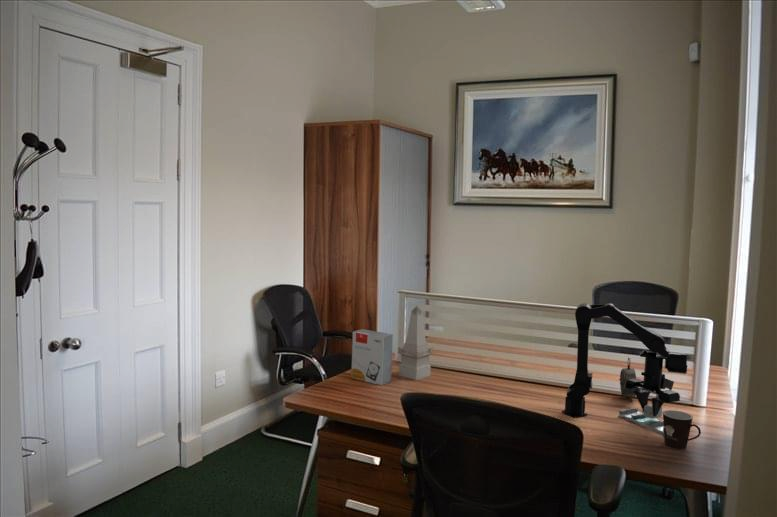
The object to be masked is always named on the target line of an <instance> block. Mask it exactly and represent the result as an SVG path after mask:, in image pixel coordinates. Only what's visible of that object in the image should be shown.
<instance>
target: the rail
mask: <svg viewBox="0 0 777 517" xmlns="http://www.w3.org/2000/svg"><path fill="white" fill-rule="evenodd" d="M638 409H639V408H637V407H631V408H625V409H620V410H619V411H618V417H619V418H623V419H624V418H625V419H624V420H627V421H630V422H632V423H634V424H637V425H640V426H642V427H643V428H646V429H648V430H651V431H653V432H655V433H658V434H661V435H662V436H664V423H663V419H662V420H660V419H658V418H654V419H651V418H648V417H645V416H644V413H643V412H641V411H639V410H638Z"/></svg>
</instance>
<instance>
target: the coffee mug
mask: <svg viewBox="0 0 777 517" xmlns="http://www.w3.org/2000/svg"><path fill="white" fill-rule="evenodd" d="M662 417H663V418H662V420H663V423H664V435H663V437H664V442H663V443H664V445H665V446H666V447H667V448H670V449H673V450H685V449H687V446H688V443H689V441H692V440H696V439H698V438H699V437H700V436H701V434H702V432H701V428H700V427H699V426H698V425H697V424H694V423H693V418H694V416H693V415H692V414H690V413H688V412H685V411H681V410H674V409H668V410H664V411H662ZM692 427H695V428H696V429H697V431H698V434H697V435H696V436H695V437H690V432H691V428H692Z"/></svg>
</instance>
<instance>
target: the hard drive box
mask: <svg viewBox="0 0 777 517" xmlns="http://www.w3.org/2000/svg"><path fill="white" fill-rule="evenodd" d="M351 334H352V337H351V338H352V339H351V340H352V341H351V366H350V367H351V371H350V372H351V374H350V378H351V379H354V380H357V381H361V382H366V383H370V384H373V385H379V386H384V385H385V384H388V383H390V382H392V367H393V366H392V363H393V361H392V360H393V336H394V335H393V334H391V333H387V332H382V331H376V330H369V329H364V328H361V329H358V330H354V331H352V333H351Z"/></svg>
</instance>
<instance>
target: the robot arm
mask: <svg viewBox="0 0 777 517" xmlns="http://www.w3.org/2000/svg"><path fill="white" fill-rule="evenodd" d="M574 316H575V322H576V328H577V351H576V353H577V354H576V355H577V358H576V371H575V377H574V381H573V383H572V384H571V385H569V386H568V387H567V390H566V396H565V400H564V401H565V403H564V409H563V410H561V413H563V414H566V415H567V416H569V417H571V418H579V417H584V416H587V415H588V413H587V412H585V410H586V397H585V396H587V395H588V394H589V393H590V391H591V390H592V389H593V381H592V379H593V374H594V373H593V372H589V368H588V367H589V339H590V338H589V336H590V335H589V334H590V326H591V323H592V319H593V320H594V319H599V318H604V317H605V318H606V317H609V318H611V319H612V320H613V321H615V322H616V323H617V324H619V325H620V326H621V327H622V328H624V329H626V330H627V331H628V332H630V333H631V334H633V335H634V336H635V337H637V339H639V341H640V342H641V343H642V344H643V345H644V346H645V347H646V348H647V349H648V350H649V351H648V350H647V349H646V348H644V349H643V350H642V351H640V352H639V357H641V358H644V371H641V374H640V375H641V376H643V379H641V378H640V379H639V378H637V377H636V378H635V379H628V380H627V381H626V383H625V387H626V388H628V389H633V388H634V387H635V391H633V393H635V397H636V398H637V400H638V403H639V405H640V407H641V410H642V411H644V406H645V405H649V404H648V403H649V396H650V395H651V394H653V395H655V397H652V398H651V404H652V409H653V416H654V417H656V416H657V414H658V412H659V410H660V408H661V406H662V407H663V405H664V403H668V404H669V403H670V404H671V403H674V402H676V403H677V402H681V401H680V400H681V395H680V394H679V392H678V391H675V390H673V387H674V383H675V381H674V380H671V379H668V378H666V375H665V373H663V365H664V370H665V369H666V370H667V372H668V373H675V374H683V375H686V374H687V372H688V361H687V360H688V359H687V358H688V357H687V356H688V355H687V353H683V352H681V353H679V352H670V351H669V348H667V347H666V342H665V339H664V337H663V336H662V334H660V333H658V332H656V331H654V330H652V329H649V328H647V327H645V326H644V325H643V326H642V325H641V324H640V323H638V322H637V321H636V320H635V319H633V318H631V317H630V316H629V315H627V314H626V313H624V312H623V311H622V310H620V309H619V308H618V307H616V306H615V305H614V304H613V303H602V304H588V303H580V304H579V305H578V306H577V307H576V309H575V312H574ZM590 389H591V390H590Z"/></svg>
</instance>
